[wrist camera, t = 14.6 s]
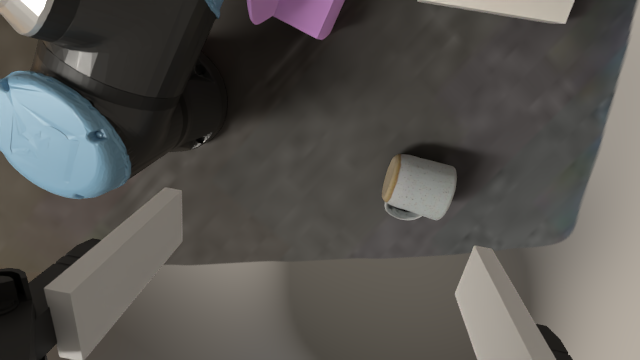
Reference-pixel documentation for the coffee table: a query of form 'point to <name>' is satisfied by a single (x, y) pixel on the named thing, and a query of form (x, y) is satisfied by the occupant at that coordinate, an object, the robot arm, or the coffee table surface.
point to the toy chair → (298, 14)
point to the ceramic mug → (418, 187)
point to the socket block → (515, 8)
